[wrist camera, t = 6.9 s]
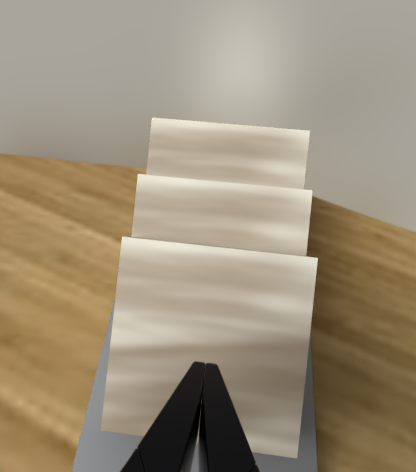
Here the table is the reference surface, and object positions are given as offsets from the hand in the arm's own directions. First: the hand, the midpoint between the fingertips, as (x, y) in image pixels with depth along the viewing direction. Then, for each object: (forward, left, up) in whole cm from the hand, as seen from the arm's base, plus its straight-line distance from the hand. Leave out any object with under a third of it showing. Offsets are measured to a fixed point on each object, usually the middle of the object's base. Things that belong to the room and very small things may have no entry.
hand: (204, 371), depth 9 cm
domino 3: (+4, -3, -7) cm, 8 cm away
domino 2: (+1, 0, -7) cm, 7 cm away
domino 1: (-3, +2, -7) cm, 8 cm away
